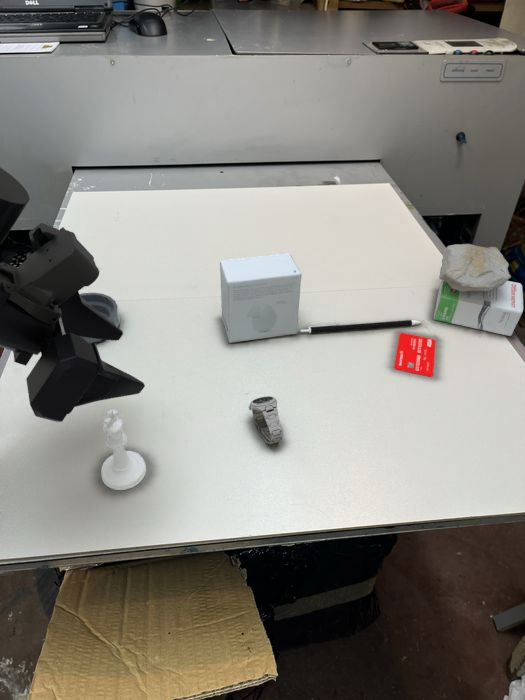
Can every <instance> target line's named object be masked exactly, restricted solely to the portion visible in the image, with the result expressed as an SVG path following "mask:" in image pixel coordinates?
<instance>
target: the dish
mask: <svg viewBox="0 0 525 700" xmlns="http://www.w3.org/2000/svg"><path fill="white" fill-rule="evenodd" d="M79 294H80V296H81V297H82V298H83V299H84V300H85V301H86V302H87V303H88V304H90V305H91V306H92V307H93V308H94V309H96V310H97V311H98V312H99V313H101V314H102V315H103V316H104V317H106V318H107V319H108V320H109V321H111V322H112V323H113V324H114V325H116V326H117V327H118V328H119V326H120V325H121V324H120V323H121V318H120V311H119V306H118V304H117V301H116V300H115V299H114V298H112V297H111V296H110V295H107V294H105V293H100V292H83V293H79ZM79 337H80V336H79ZM82 338H83V339H84V340H86V341H87V342H88V343H89V344H92V343H93V342H95V343H97V342H100V341H102V340H103V339H95V338H88V337H82Z"/></svg>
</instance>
